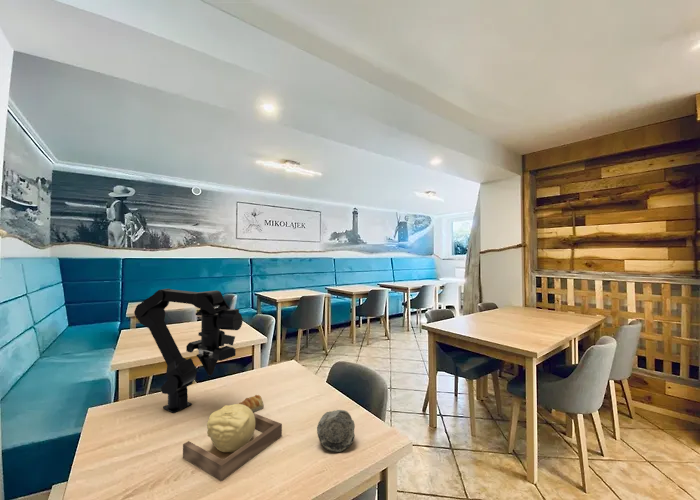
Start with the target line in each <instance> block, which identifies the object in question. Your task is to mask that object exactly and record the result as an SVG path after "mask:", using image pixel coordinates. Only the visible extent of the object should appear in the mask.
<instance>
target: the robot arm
mask: <svg viewBox="0 0 700 500" xmlns="http://www.w3.org/2000/svg"><path fill="white" fill-rule="evenodd" d="M170 303H178V304H179V303H180V304H185V305H186V304H187V305H192V306H194V307H195V308H198V309H199V310H198V311H197V312H195V316H200V317H201V320H200V321H201V326H200V328H201V329H200V331H199V332H198V333H197V334H198V336H199V337H200V339H198V340H194V341H191V342H188V343H187V345H186V349H185V350H186V352H188V353H193V352H194V350H197V351H198V353H197V354H196V357H197V358H198V359H199V362H200V363H201V365H202V367H203V368H204V370H205V372H206V374H207V375H208V376H209V377H210V376H213V374H214V371H215V369H216V366H217V363H218V362H219V361H224V360H227V359H230V358H233V357H236V352H237V351H236V348H235V347H234V342H235V338H236V336H234V335H229V334H226V332H225V330H227V331H238V330H240V329H241V327H242V325H243V321H244V320H243V319H244V318H243V315H242V314H241V313H240V309H239V308H235V309H231V307H230V306H229V304H228V303H227V301H226V300H225V298H224V295H223V294H222V293H221V291H220V290H208V291H199V292H197V291H190V290H189V291H188V290H179V289H171V288H164V289H163V288H162V289H159V290H156V291H155V292H154V293H153V294H152V295H150V296H149V297H147V298H146V299H144V300H143V301H142V302H140V303H139V304H137V305H136V307H135V309H134V312H133V313H134V316H135V317H136V319H137V320H138V322H139V323H140V324H141V325H142V326H144V327H146V328H147V329H148V330H149V331H150V334H151V336H152V337H153V340H154V341H155V344H156V345H157V348H158V350H159V351H160V353H161V355H162V358H163V359H164V361H165V363H166V370H165V373H166V374H165V376H166V379H167V380H166V382H164V383H163V385H162V386H161V387H160V390H161V394H164V395H167V404H166V405H164V406H163V407H162V408H163V409H164V410H166V411H168V412H170V413H173V414H174V413H176V412H179V411H181V410H184V409H185V408H188V407H190V406H192V402H190V401H189V400H188V398H189V397H188V394H189V393H188V387H189V386H191V385H192V384H193V383H194V380H196V378H197V377H196V376H197V373H198V372H197V366H196V364H195V363H194V360H193V358H191V357H190V358H188V359H187V358H185V357H183V355H182V354H181V352H180V350H179V347H178V345H177V343H176V341H175V339H174V337H173V336H172V333H171V332H170V329H169V327H168V325H167V323H166V322H165V319H166V311H165V309H166V308H167V307H168V306H169V304H170ZM225 345H226V346H225ZM229 345H230V346H229ZM232 346H233V347H232Z"/></svg>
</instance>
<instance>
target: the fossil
mask: <svg viewBox="0 0 700 500" xmlns="http://www.w3.org/2000/svg"><path fill="white" fill-rule="evenodd" d="M355 427H356V425H355V422H354V420H353V418H352V416H351V414H350V413H349V412H348V411H347V410H343V409H336V410H332V411H330V410H329V411H326V412H325V413H323V415H322V416H321V418H320V419H319V421H318V424H317V426H316V434H317V437H318V441H319V442H320V444H321V446H322V448H324V449H325V450H327V451H328V452H331V453H340V452H344V451H346V450H347V449H348V448H349V447H350V446H351V445H352V444H353V442H354V439H355V436H356V435H355Z"/></svg>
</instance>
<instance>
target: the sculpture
mask: <svg viewBox="0 0 700 500" xmlns="http://www.w3.org/2000/svg"><path fill="white" fill-rule="evenodd" d="M253 413H254V412H252V410H251V409H250V408H249V407H247V406H245V405H242V404H239V403H235V404H234V403H233V404H229V405H228V404H225V405H224V406H223V407H221V408H219V409H217V410H215V411H213V412H211V414H210V415H209V418H208V421H206V422H207V424H206V428H207V431H206V432H207V437H209V438H210V440H211V443H212V444H213V445H214V447H215V448H216V449H217V450H218V451H219V452H223V453H234V452H235V451H237V450H238V449H240V448H241V447H243V446H244V445H245V444H247V443H248V442H250V441H251V440H252V438H253V436H254V433H255V430H256V429H255V424H256V422H255V416H254V414H253Z"/></svg>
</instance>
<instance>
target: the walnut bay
mask: <svg viewBox="0 0 700 500" xmlns="http://www.w3.org/2000/svg"><path fill="white" fill-rule="evenodd" d="M253 414H254V416H255V422H256V424H255V430H257V431H259V432H261V433H260V434H259V435H258V436H255V438H253V439H251V440H250V441H249V442H248V443H247V444H245V445H244V446H243V447H241V448H240V449H238V450H237V451H235V452H231V454H229V455H228V456H226V457H225V458H223V459H222V458H221V457H219V456H217V455H215V454H213V453H212V452H210V451H208V450H206V449H205V448H203V447H200V446H199V445H196V444H195V443H193V442H192V441H189V440H188V441H186V442H184V443H182V459H184V460H185V461H188V462H189V463H191V464H193V465H194V466H196V467H197V468H199V469H201V470H202V471H204V472H205V473H207V474H210V475H211V476H213V477H214V478H215V479H217V480H220V481H221V482H222V481H224V480H225V479H226V478H227V477H230V475H232V474H233V473H234V472H235V471H237V470H238V469H239V468H241V467H242V466H243V465H245V464H247V462H249V461H250V460H252V459H253V458H254V457H256V456H257V455H258V454H260V453H261V452H263V451H264V450H265V449H266V448H268V447H269V446H271V444H273V443H274V442H276V441H277V440H279V439H280V438H281V437H282V436H283V424H282V422H278V421H275V420H273V419H271V418H268V417H265V416H263V415H260V414H258V413H255V412H253Z"/></svg>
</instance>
